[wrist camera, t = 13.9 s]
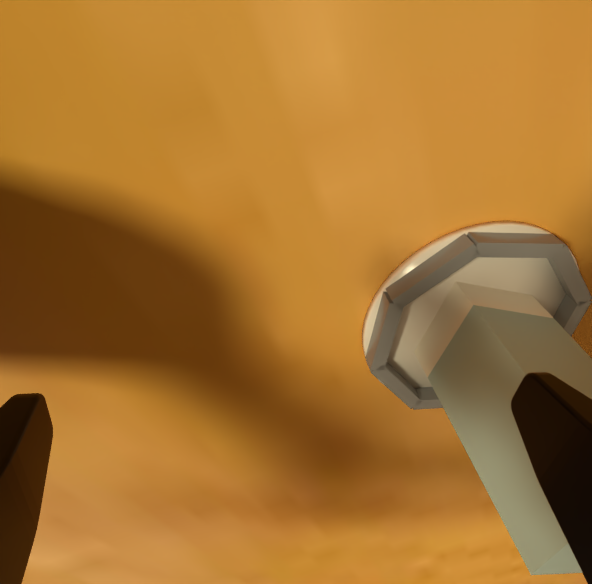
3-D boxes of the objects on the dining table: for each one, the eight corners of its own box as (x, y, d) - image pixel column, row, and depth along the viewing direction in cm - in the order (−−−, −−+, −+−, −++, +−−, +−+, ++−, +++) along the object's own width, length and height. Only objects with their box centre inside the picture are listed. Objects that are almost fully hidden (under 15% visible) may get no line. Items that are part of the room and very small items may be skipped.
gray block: (413, 351, 27) (531, 574, 18) (455, 281, 24) (619, 498, 15) (485, 360, 29) (629, 570, 19) (531, 295, 26) (725, 500, 16)
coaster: (344, 398, 29) (350, 417, 28) (390, 217, 22) (401, 233, 21) (522, 389, 32) (534, 406, 31) (615, 223, 25) (636, 238, 23)
